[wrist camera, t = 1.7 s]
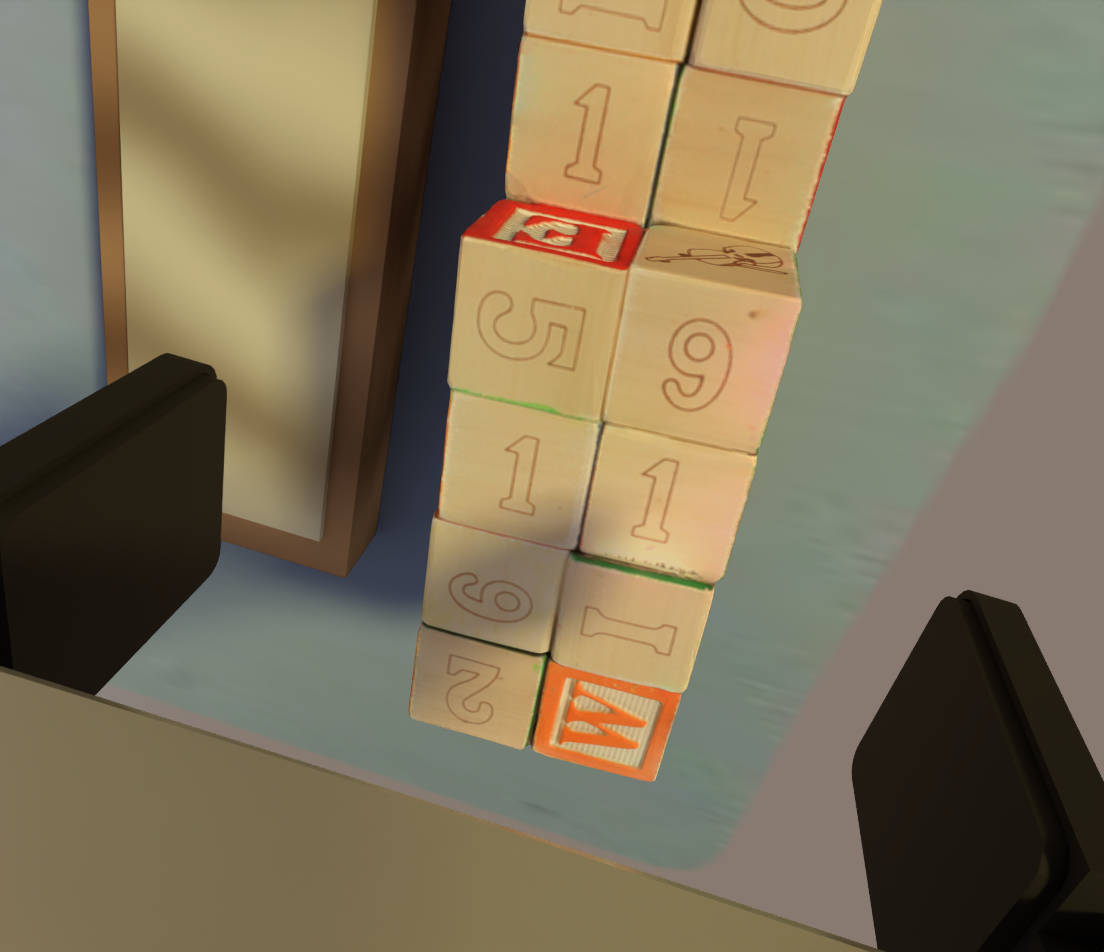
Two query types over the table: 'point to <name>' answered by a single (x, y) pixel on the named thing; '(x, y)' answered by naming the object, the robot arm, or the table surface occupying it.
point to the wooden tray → (270, 235)
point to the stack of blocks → (621, 360)
